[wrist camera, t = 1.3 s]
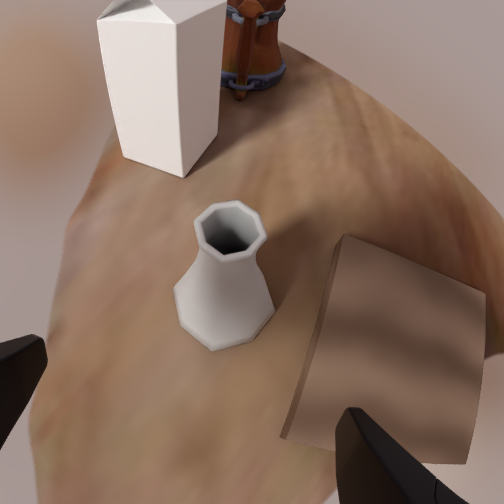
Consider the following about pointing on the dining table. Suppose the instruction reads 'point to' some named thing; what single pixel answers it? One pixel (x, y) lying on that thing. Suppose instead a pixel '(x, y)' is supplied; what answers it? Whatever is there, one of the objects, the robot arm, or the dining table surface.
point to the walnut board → (393, 355)
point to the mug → (251, 45)
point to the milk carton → (164, 77)
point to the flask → (225, 278)
